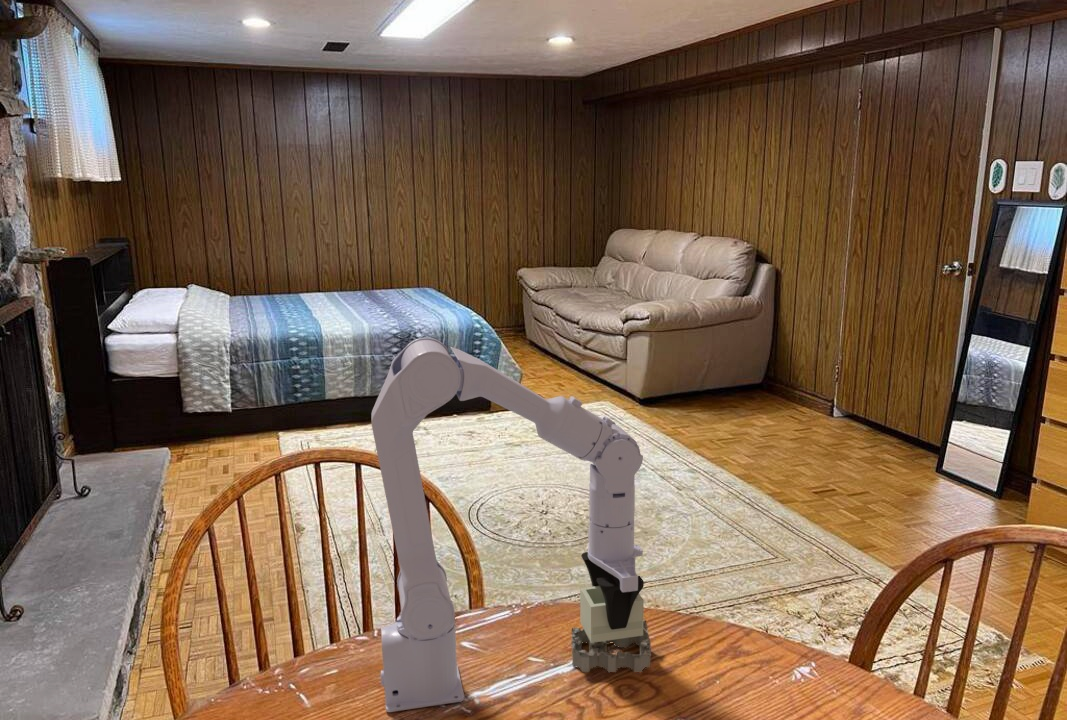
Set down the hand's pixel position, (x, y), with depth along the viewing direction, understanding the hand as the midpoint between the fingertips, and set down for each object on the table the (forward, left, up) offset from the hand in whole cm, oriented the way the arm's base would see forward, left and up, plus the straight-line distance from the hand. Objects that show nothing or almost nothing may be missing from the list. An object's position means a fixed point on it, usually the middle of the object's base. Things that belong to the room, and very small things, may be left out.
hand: (611, 616), depth 104 cm
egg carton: (0, +1, -7) cm, 7 cm away
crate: (0, 0, -2) cm, 2 cm away
